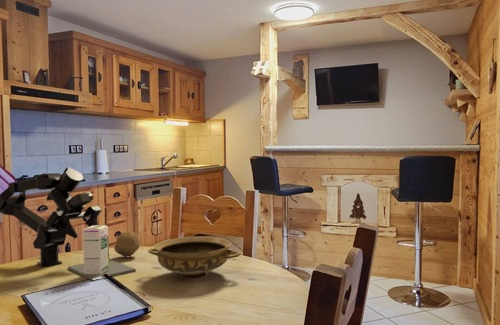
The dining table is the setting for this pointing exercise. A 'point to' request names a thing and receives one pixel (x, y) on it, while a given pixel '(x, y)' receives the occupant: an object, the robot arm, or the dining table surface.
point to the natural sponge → (127, 243)
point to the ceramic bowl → (193, 255)
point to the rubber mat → (113, 270)
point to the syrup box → (96, 249)
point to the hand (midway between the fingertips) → (88, 234)
